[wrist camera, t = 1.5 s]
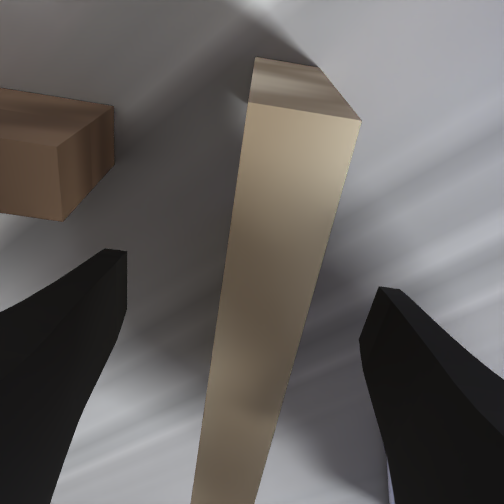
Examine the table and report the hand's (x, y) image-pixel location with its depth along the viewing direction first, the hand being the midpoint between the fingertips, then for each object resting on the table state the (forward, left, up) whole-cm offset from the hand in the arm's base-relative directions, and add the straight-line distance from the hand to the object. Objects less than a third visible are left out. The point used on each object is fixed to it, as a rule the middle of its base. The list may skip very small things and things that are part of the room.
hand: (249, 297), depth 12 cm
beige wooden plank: (0, 0, -3) cm, 3 cm away
